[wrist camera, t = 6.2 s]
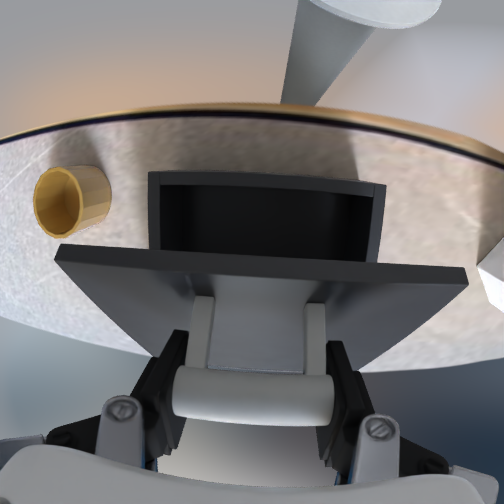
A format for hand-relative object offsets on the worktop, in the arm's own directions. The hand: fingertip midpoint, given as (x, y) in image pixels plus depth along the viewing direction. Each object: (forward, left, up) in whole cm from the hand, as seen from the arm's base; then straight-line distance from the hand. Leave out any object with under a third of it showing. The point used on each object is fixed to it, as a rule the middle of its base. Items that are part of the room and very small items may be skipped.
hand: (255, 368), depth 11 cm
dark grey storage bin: (0, 0, -16) cm, 16 cm away
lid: (+1, 0, -4) cm, 4 cm away
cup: (+1, -18, -16) cm, 24 cm away
